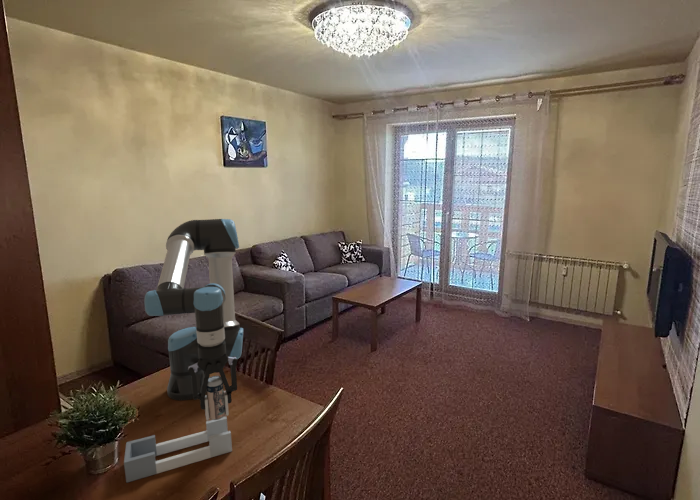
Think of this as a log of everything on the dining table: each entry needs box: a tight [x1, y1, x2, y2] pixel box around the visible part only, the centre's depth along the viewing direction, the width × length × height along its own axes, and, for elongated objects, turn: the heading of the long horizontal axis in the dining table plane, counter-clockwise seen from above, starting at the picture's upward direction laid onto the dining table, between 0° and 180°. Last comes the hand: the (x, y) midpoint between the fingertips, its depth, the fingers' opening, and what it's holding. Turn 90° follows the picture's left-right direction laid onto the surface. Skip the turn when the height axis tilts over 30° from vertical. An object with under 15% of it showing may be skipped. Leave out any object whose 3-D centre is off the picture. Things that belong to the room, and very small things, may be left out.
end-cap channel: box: [123, 416, 233, 484], centre depth 112 cm, size 9×27×6 cm, turn 116°
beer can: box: [206, 375, 226, 420], centre depth 114 cm, size 5×5×12 cm
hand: (217, 415), depth 115 cm, fingers closed on beer can, 5 cm apart
